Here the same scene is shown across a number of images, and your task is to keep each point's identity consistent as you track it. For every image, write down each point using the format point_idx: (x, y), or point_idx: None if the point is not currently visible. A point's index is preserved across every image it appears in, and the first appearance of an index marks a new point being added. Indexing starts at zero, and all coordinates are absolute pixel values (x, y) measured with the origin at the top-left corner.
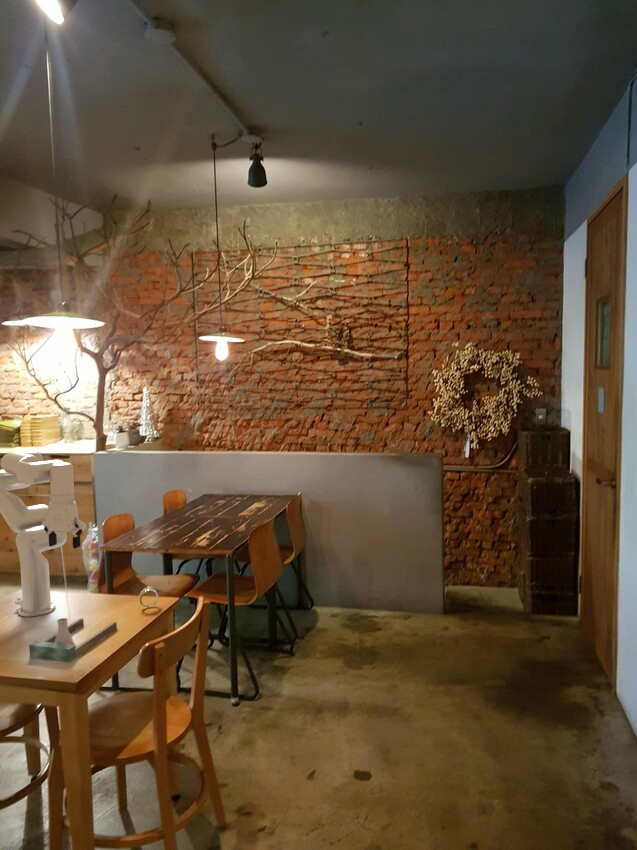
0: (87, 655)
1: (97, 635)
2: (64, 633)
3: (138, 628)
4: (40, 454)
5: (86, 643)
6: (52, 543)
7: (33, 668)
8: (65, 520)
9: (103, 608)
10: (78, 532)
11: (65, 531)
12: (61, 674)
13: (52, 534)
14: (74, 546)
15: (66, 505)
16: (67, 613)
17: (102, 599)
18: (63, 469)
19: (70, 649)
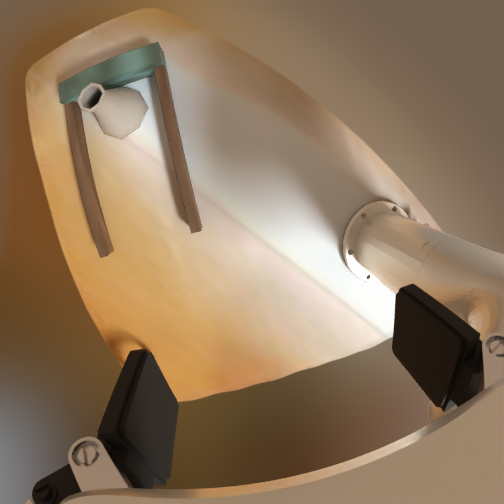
0: (62, 128)
1: (78, 180)
2: (94, 100)
3: (74, 275)
4: None
5: (71, 140)
6: (406, 317)
7: (117, 37)
8: None
9: (238, 322)
10: (64, 486)
11: (143, 497)
12: (56, 61)
13: (459, 376)
14: (128, 361)
15: None
16: (298, 263)
17: (285, 353)
18: None
19: (59, 89)
